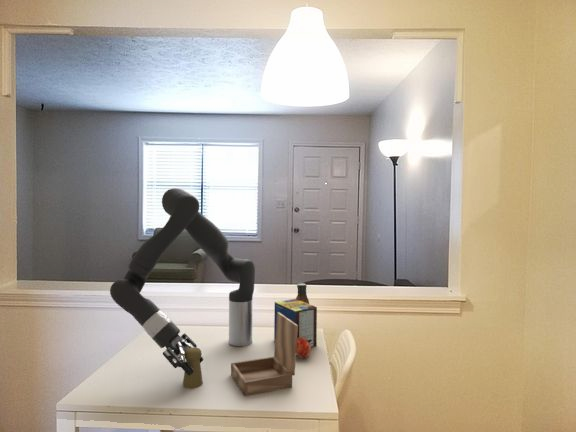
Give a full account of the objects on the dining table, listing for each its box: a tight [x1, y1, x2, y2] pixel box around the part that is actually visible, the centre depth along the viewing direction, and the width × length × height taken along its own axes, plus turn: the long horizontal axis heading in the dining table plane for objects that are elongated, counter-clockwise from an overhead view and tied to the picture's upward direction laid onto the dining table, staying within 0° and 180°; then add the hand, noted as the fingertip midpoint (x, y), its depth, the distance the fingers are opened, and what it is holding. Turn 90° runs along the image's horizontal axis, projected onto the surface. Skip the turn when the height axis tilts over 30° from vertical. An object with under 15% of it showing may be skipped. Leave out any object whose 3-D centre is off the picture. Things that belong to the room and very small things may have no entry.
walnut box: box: [230, 356, 293, 397], centre depth 129 cm, size 15×15×4 cm
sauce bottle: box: [295, 283, 310, 304], centre depth 180 cm, size 6×6×20 cm
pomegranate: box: [296, 337, 312, 359], centre depth 149 cm, size 7×7×10 cm
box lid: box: [273, 312, 298, 377], centre depth 132 cm, size 15×16×1 cm
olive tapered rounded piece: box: [182, 347, 204, 389], centre depth 127 cm, size 6×6×11 cm
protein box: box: [273, 298, 318, 348], centre depth 163 cm, size 10×15×16 cm
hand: (196, 367), depth 127 cm, fingers open, 8 cm apart
